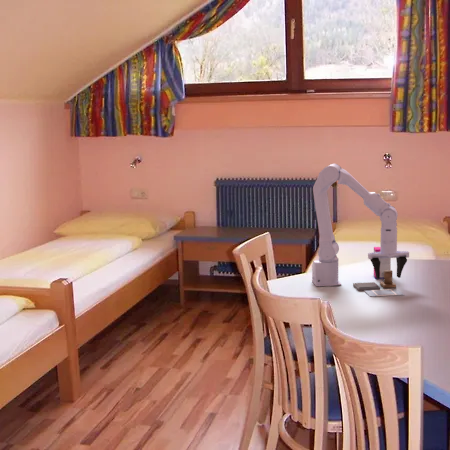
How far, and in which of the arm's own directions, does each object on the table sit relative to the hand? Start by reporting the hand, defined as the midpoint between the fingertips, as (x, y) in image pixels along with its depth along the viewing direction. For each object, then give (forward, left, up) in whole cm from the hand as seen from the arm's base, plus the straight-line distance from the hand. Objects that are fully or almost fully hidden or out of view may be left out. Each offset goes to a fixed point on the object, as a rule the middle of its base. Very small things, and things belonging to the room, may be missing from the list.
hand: (388, 277), depth 249 cm
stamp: (0, 0, -4) cm, 4 cm away
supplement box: (+2, +14, -4) cm, 15 cm away
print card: (-4, -8, -3) cm, 10 cm away
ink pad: (-8, 0, -3) cm, 9 cm away
